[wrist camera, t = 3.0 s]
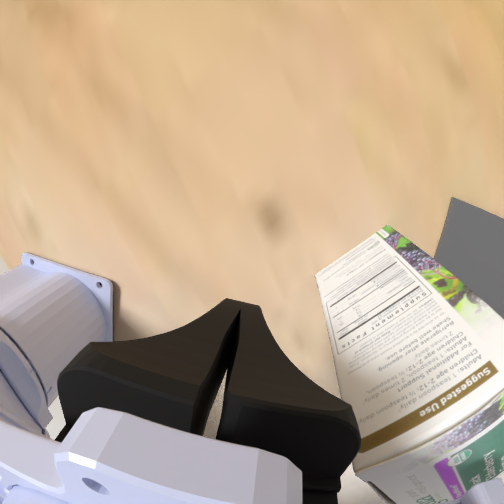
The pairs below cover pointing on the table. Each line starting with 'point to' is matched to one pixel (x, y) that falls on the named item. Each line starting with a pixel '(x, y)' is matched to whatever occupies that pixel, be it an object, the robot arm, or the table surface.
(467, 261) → the rubber mat
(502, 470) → the syrup box
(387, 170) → the table surface
